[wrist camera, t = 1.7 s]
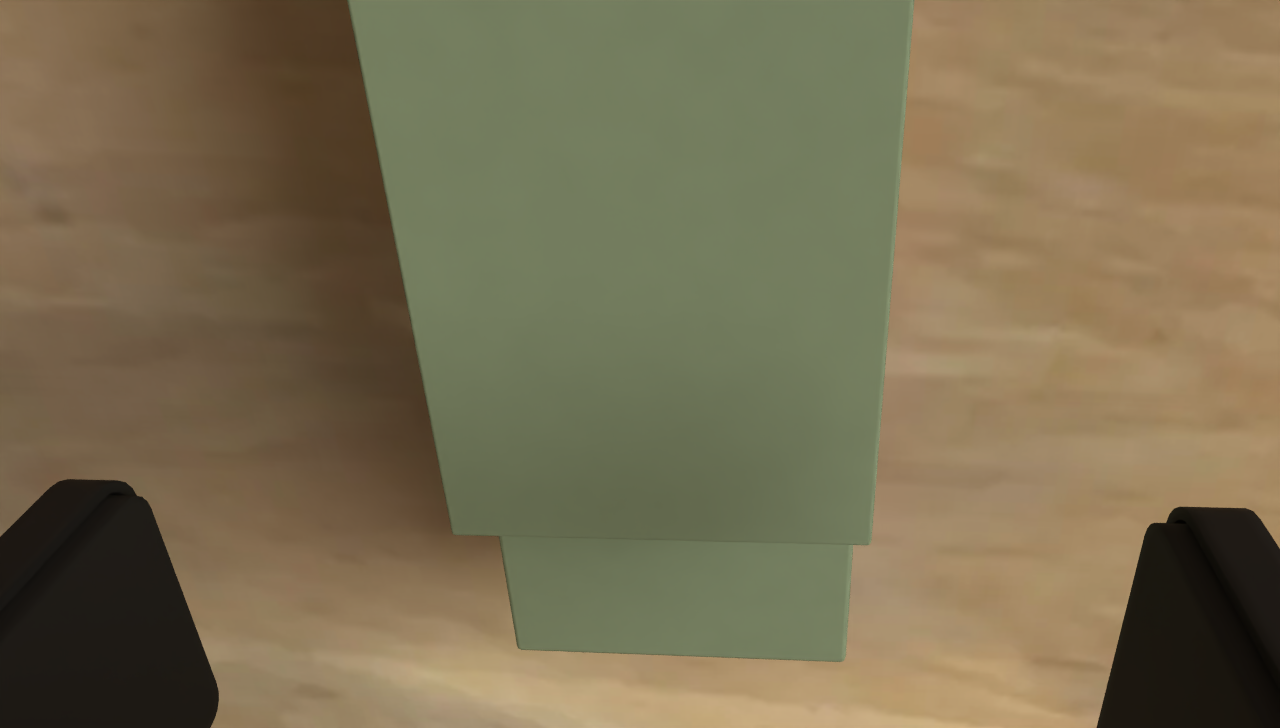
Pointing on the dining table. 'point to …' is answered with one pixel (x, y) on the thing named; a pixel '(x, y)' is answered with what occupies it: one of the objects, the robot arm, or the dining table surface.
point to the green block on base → (650, 300)
